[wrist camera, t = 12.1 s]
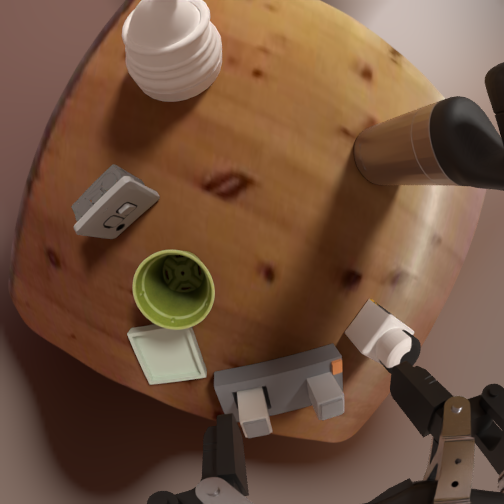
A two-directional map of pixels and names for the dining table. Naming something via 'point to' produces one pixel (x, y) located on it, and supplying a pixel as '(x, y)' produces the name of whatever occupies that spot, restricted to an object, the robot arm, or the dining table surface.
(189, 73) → the honey pot
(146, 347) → the tray
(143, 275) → the plant pot
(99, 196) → the electrical switch
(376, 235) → the dining table surface
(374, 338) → the medicine bottle
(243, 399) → the plug
